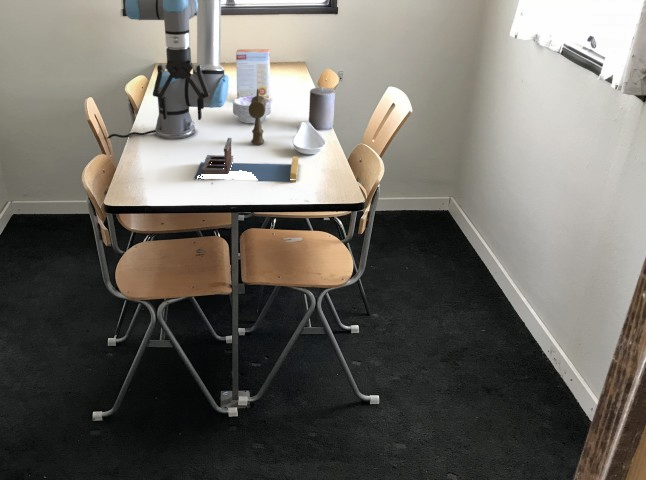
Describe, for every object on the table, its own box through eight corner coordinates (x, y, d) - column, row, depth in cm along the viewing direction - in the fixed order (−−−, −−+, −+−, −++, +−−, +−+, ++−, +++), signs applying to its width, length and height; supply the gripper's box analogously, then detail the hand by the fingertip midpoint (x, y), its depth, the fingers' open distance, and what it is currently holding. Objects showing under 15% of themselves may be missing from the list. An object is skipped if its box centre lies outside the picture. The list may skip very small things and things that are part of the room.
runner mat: (193, 180, 235) (193, 179, 235) (200, 163, 248) (200, 162, 248) (296, 183, 231) (296, 182, 231) (298, 165, 245) (298, 164, 244)
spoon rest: (328, 157, 250) (329, 137, 246) (295, 158, 250) (295, 138, 246) (316, 135, 270) (317, 117, 266) (286, 137, 269) (286, 118, 265)
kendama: (248, 147, 260) (248, 92, 249) (250, 139, 268) (250, 84, 257) (265, 148, 260) (265, 92, 248) (266, 139, 268) (266, 85, 256)
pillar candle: (303, 126, 280) (304, 87, 271) (319, 120, 285) (321, 82, 277) (322, 131, 274) (324, 92, 266) (338, 126, 280) (340, 87, 271)
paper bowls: (248, 112, 296) (248, 93, 292) (278, 119, 288) (278, 99, 284) (225, 121, 287) (224, 101, 282) (254, 128, 278) (254, 108, 274)
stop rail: (290, 181, 231) (290, 173, 230) (292, 164, 245) (292, 156, 243) (296, 182, 231) (296, 173, 230) (298, 164, 244) (298, 156, 243)
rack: (201, 178, 235) (199, 149, 230) (207, 163, 247) (206, 135, 241) (228, 179, 234) (227, 150, 229) (233, 164, 246) (232, 136, 240)
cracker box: (269, 98, 312) (270, 48, 301) (268, 102, 307) (269, 51, 296) (238, 98, 314) (237, 48, 302) (236, 102, 309) (235, 51, 297)
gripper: (138, 49, 217) (145, 121, 230) (213, 50, 215) (216, 122, 227) (144, 44, 224) (150, 114, 236) (217, 44, 221) (219, 115, 234)
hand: (182, 118), depth 232 cm, fingers open, 11 cm apart
